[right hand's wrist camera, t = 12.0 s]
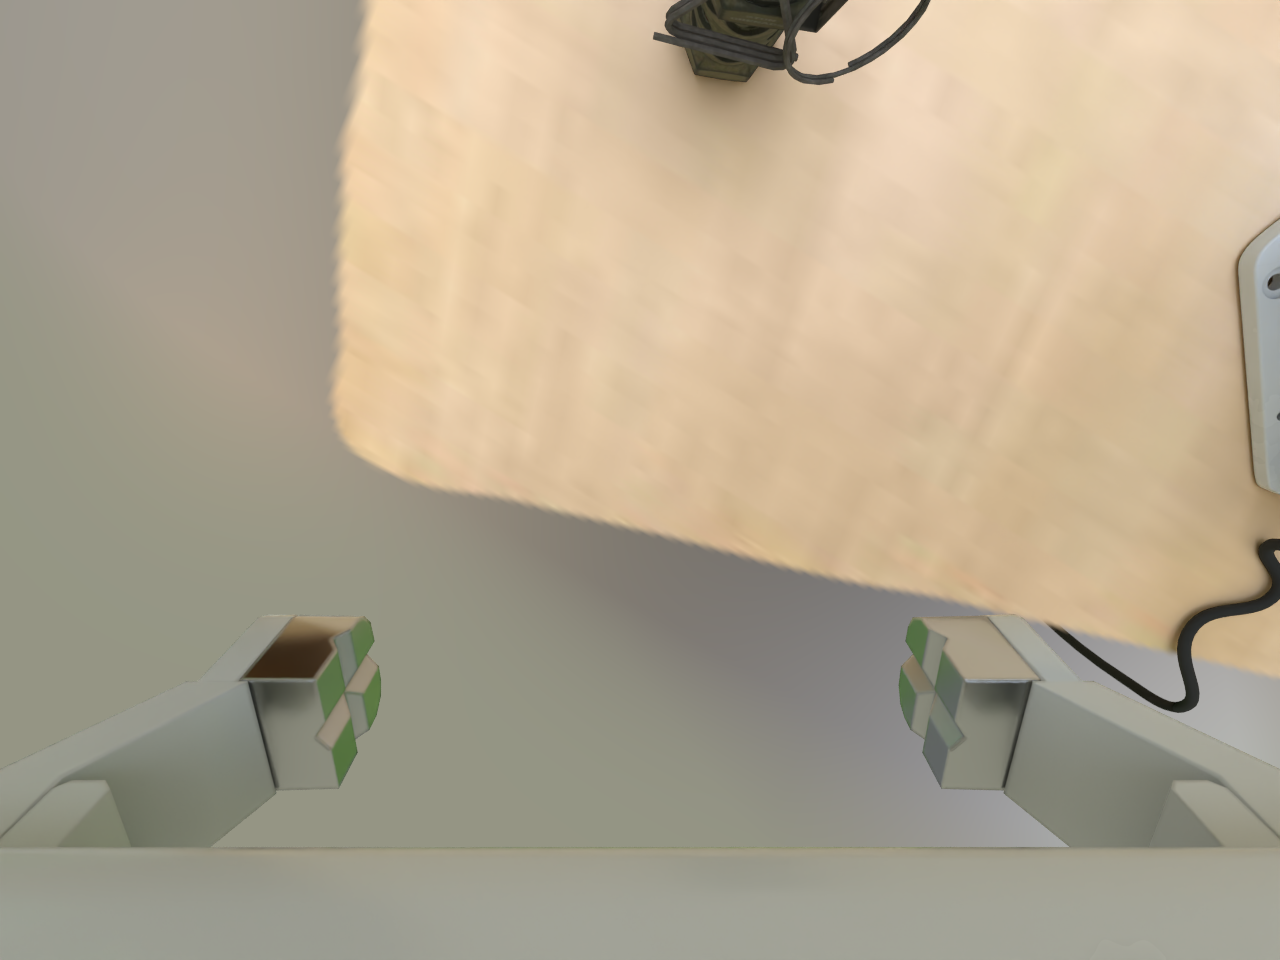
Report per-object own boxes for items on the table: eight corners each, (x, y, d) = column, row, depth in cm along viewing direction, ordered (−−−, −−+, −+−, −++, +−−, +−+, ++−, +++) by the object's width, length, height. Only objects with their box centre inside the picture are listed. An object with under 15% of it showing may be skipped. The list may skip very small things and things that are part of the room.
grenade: (647, 102, 34) (653, 29, 20) (663, -39, 32) (684, -233, 18) (822, 128, 34) (948, 74, 20) (850, -10, 32) (1013, -176, 18)
